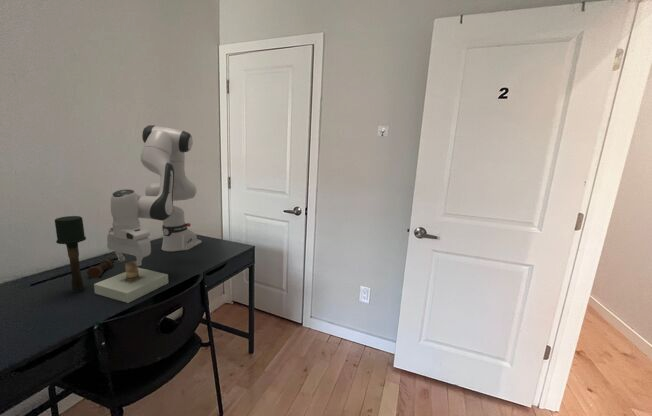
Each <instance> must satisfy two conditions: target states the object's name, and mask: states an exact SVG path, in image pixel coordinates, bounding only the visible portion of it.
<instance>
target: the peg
mask: <svg viewBox="0 0 652 416" xmlns="http://www.w3.org/2000/svg"><path fill="white" fill-rule="evenodd" d="M135 261H136V260H131V261H127V262H125V263H124V264H125V265H124V269H125V272H126V278H127V279H128V281H129V282H133V281H135V280H138V279H137V277H138V276H139V274H138V268H139V266H136V265H135Z"/></svg>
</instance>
